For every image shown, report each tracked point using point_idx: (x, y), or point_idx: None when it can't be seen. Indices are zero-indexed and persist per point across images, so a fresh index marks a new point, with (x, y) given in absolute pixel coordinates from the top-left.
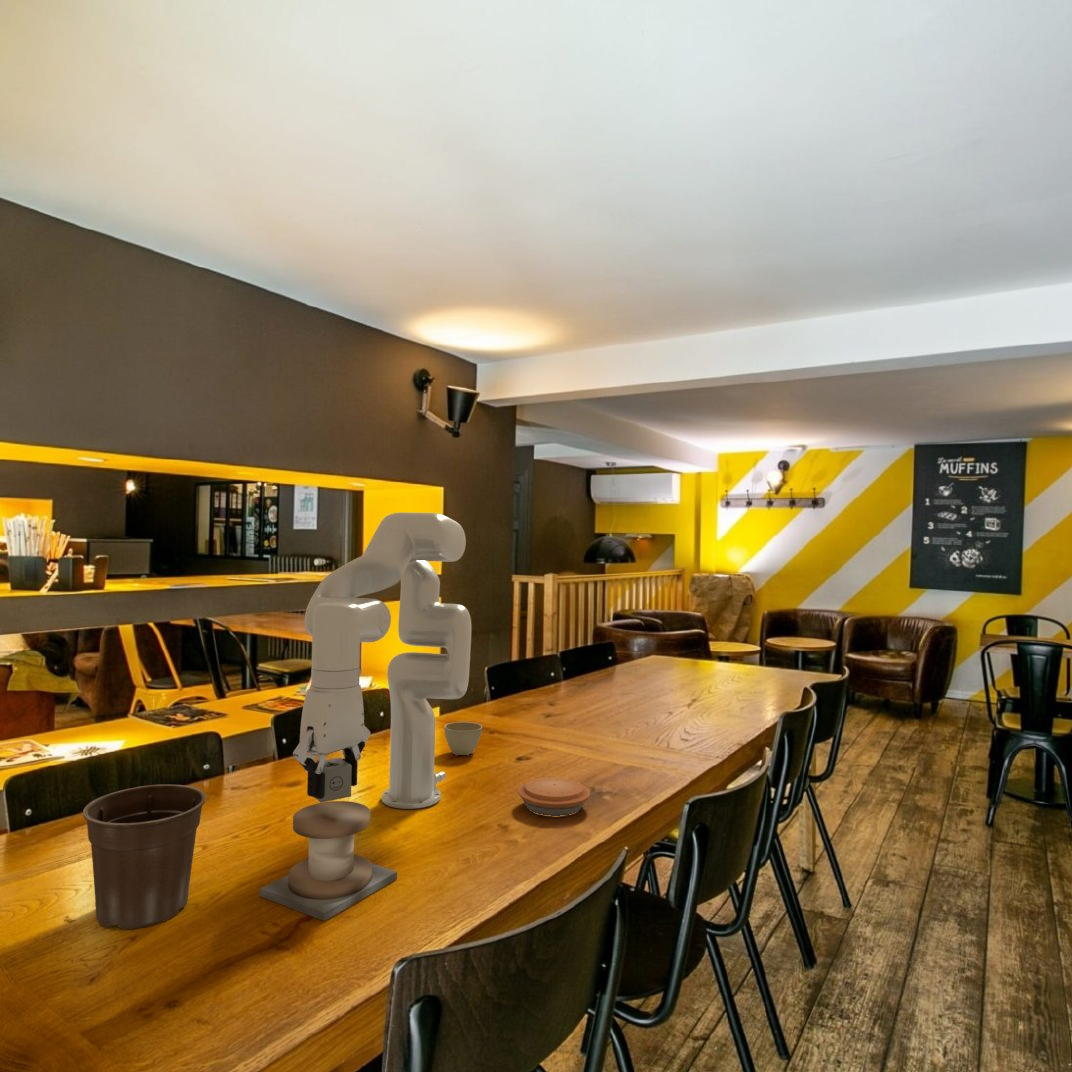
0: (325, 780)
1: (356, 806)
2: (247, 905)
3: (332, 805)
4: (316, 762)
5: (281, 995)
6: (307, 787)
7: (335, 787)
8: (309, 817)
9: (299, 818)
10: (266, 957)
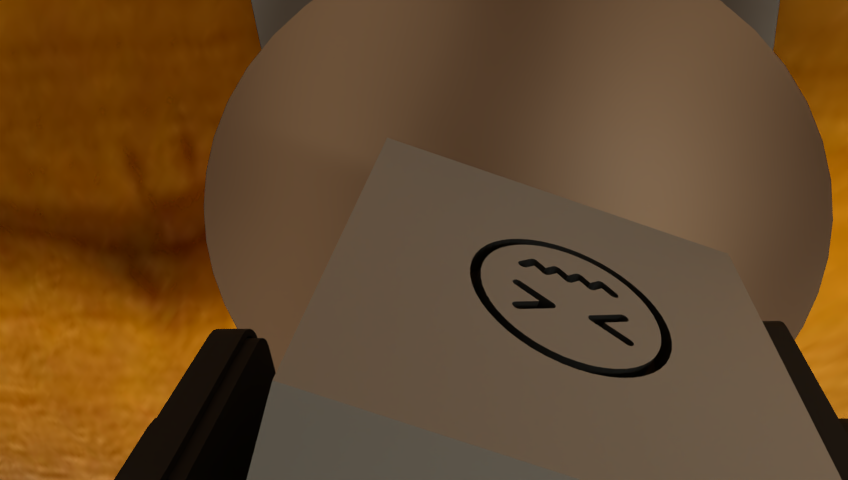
0: None
1: (748, 291)
2: None
3: (658, 118)
4: (370, 453)
5: (58, 421)
6: (183, 378)
7: None
8: (340, 178)
9: (272, 133)
10: (85, 281)
